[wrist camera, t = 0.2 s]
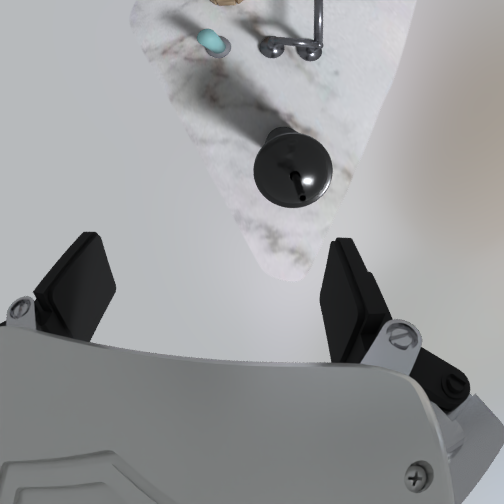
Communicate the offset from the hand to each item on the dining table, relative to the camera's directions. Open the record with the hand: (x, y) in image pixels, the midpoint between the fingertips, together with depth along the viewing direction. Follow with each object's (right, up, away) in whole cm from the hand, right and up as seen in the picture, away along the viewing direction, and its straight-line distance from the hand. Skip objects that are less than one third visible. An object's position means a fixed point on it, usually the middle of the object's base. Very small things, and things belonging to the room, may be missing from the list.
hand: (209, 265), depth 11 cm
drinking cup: (+6, +16, +26) cm, 31 cm away
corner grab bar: (+7, +32, +15) cm, 36 cm away
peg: (-3, +28, +19) cm, 33 cm away
